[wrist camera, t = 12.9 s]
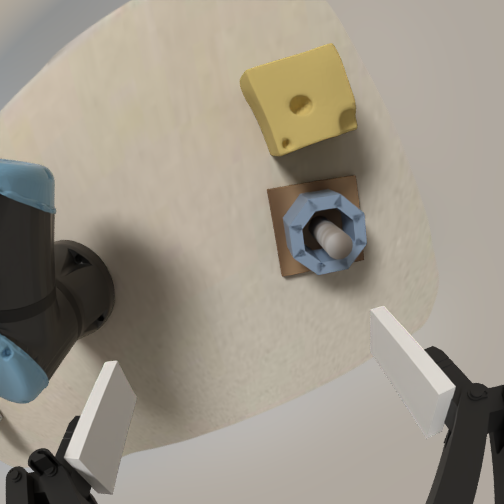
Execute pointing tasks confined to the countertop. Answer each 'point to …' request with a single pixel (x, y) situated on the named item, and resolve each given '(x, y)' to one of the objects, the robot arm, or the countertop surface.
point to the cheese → (300, 99)
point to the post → (313, 222)
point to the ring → (301, 215)
